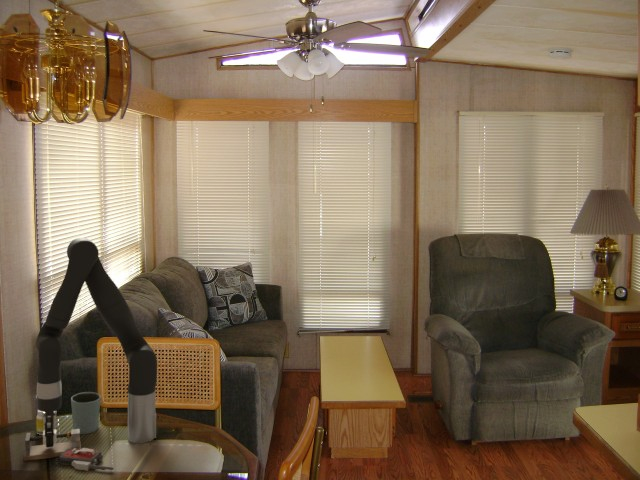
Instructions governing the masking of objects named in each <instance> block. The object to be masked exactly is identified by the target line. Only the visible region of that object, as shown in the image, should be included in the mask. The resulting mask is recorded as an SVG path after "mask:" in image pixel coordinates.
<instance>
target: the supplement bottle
mask: <svg viewBox="0 0 640 480" xmlns="http://www.w3.org/2000/svg"><path fill="white" fill-rule="evenodd" d="M43 412H44V411H39V410H38V409H37V415H36V418H35V419H36V434H37V435H38V434H39V436H43V431H45V430H44V421H43Z"/></svg>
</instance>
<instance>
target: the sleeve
mask: <svg viewBox="0 0 640 480" xmlns="http://www.w3.org/2000/svg"><path fill="white" fill-rule="evenodd" d="M47 433H50V432H47ZM56 434H58V432H57V429H56V428H55V429H54V436H53V442H54V444H56V443H58V441H57V440H58V438H56ZM42 436H43V440H42V445H46V437H45V431H43V435H42Z"/></svg>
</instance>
